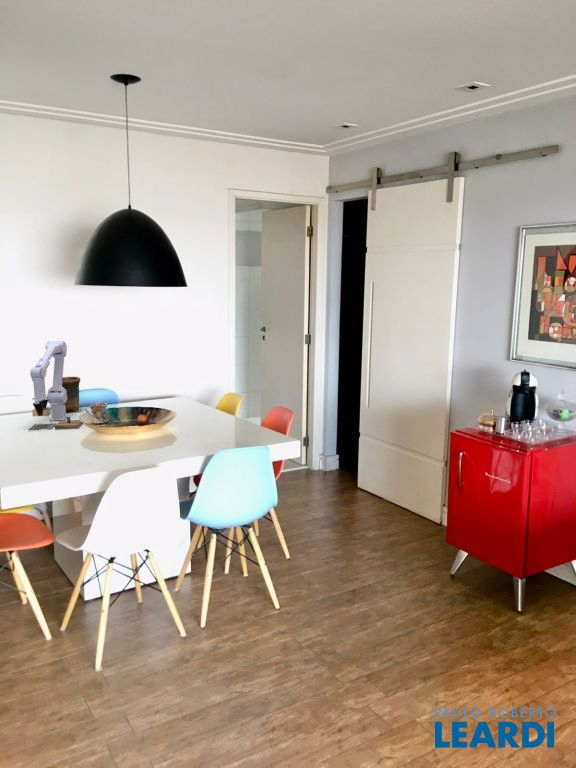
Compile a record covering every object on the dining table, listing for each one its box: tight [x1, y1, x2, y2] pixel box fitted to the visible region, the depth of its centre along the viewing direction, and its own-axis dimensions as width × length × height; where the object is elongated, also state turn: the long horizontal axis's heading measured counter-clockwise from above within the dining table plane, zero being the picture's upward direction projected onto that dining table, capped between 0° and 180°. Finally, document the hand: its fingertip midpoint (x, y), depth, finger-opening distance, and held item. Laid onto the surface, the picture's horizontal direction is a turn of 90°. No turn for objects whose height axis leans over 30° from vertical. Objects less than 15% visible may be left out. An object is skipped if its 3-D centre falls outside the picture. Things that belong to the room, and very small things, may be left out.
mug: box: [85, 401, 109, 423], centre depth 363 cm, size 12×9×11 cm
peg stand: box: [54, 416, 84, 431], centre depth 358 cm, size 12×12×5 cm
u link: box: [31, 407, 52, 417], centre depth 356 cm, size 8×6×4 cm
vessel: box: [62, 376, 81, 415], centre depth 395 cm, size 14×14×20 cm
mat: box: [27, 422, 58, 431], centre depth 358 cm, size 12×12×1 cm
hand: (41, 414), depth 356 cm, fingers closed on u link, 6 cm apart
